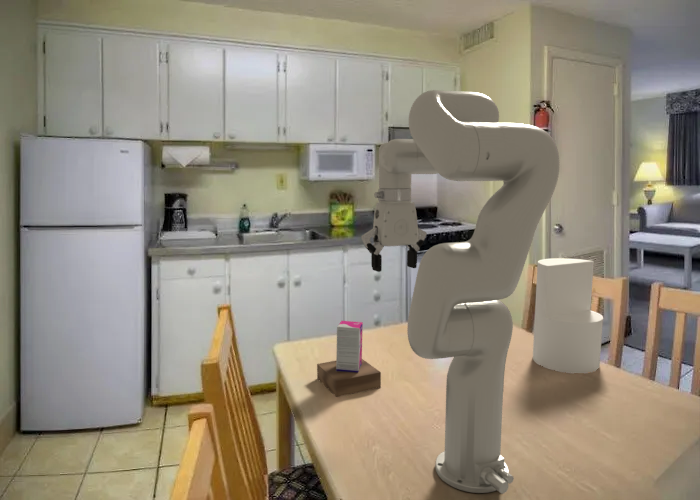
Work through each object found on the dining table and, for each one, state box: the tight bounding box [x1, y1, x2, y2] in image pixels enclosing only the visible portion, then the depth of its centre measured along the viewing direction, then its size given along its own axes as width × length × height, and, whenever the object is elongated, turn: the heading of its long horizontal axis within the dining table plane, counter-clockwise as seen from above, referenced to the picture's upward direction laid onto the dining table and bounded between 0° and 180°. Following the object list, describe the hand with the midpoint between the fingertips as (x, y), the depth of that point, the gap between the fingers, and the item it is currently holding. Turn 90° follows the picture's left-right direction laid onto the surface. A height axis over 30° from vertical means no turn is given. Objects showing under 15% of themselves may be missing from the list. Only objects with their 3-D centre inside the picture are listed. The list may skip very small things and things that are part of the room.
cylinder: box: [532, 257, 604, 374], centre depth 137 cm, size 17×17×28 cm
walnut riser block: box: [316, 358, 382, 398], centre depth 125 cm, size 12×12×4 cm
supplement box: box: [335, 320, 364, 373], centre depth 124 cm, size 6×6×12 cm
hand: (394, 269), depth 118 cm, fingers open, 9 cm apart
